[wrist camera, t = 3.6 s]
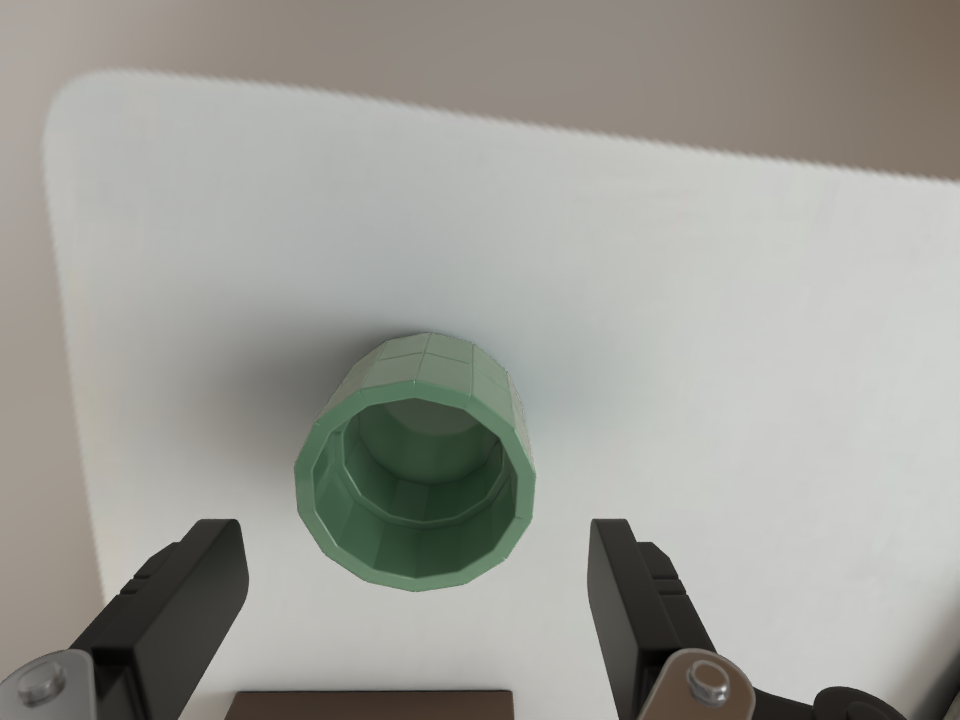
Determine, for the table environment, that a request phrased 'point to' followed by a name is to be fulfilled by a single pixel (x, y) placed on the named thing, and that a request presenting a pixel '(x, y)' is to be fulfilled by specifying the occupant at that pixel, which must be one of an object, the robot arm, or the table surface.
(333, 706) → the wooden stair steps
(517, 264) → the table surface
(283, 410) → the table surface
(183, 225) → the table surface
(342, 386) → the cup
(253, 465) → the table surface
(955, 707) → the salad plate
